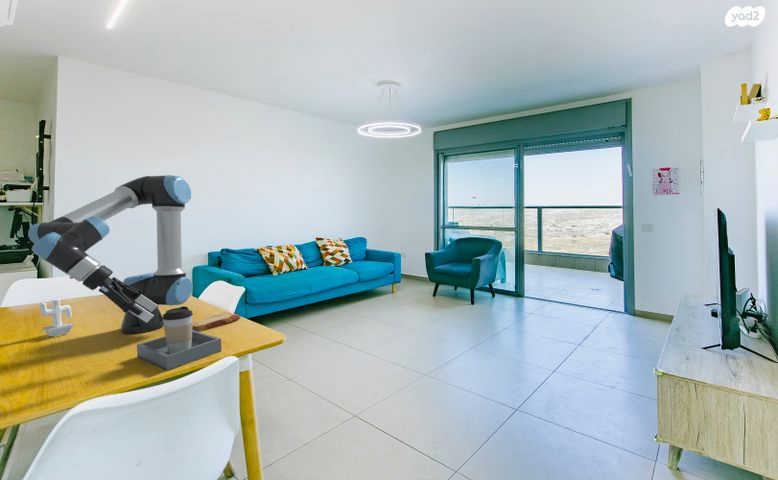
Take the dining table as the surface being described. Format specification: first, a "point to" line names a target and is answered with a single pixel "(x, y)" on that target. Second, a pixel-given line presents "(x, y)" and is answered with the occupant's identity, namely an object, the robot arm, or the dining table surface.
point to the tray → (160, 357)
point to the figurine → (56, 317)
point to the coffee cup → (178, 329)
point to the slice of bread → (215, 321)
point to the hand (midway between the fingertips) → (152, 313)
